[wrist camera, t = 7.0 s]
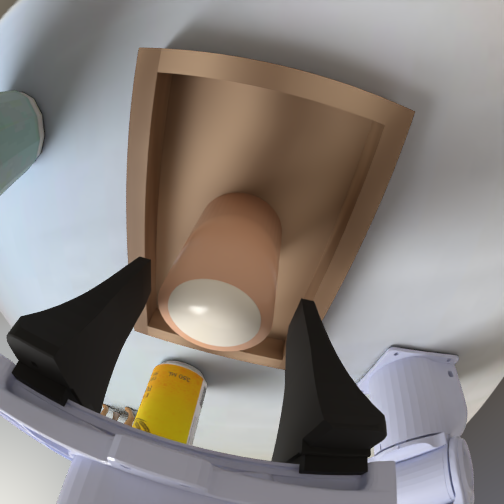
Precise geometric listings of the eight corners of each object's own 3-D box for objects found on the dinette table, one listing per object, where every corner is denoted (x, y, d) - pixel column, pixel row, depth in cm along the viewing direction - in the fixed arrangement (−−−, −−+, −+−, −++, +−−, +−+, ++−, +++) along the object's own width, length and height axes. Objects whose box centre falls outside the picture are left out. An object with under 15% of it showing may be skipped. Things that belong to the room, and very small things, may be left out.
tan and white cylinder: (292, 206, 17) (289, 291, 11) (269, 272, 20) (255, 362, 14) (207, 182, 17) (159, 254, 11) (195, 252, 20) (156, 334, 14)
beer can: (149, 353, 29) (101, 479, 17) (204, 361, 28) (166, 502, 16) (163, 382, 33) (127, 493, 20) (212, 390, 32) (183, 509, 20)
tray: (395, 103, 13) (415, 111, 11) (293, 342, 25) (292, 371, 23) (163, 49, 13) (138, 47, 11) (147, 305, 25) (134, 330, 22)
